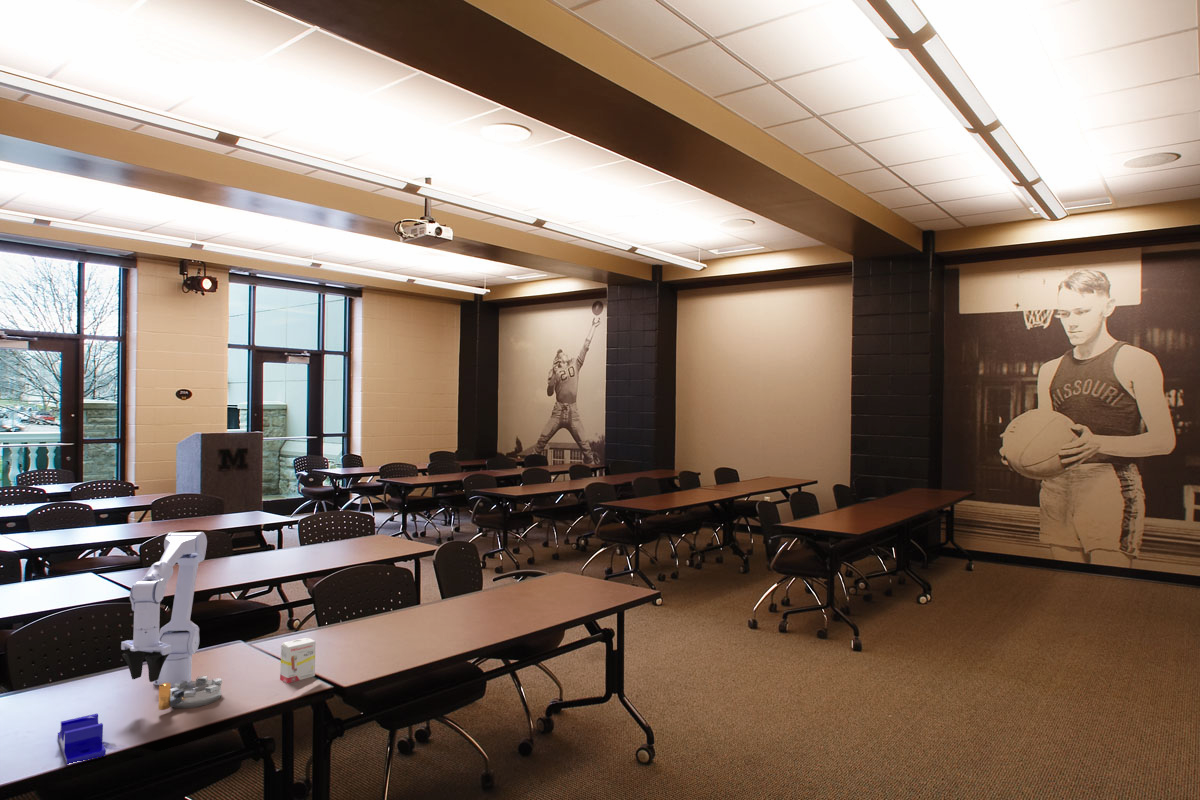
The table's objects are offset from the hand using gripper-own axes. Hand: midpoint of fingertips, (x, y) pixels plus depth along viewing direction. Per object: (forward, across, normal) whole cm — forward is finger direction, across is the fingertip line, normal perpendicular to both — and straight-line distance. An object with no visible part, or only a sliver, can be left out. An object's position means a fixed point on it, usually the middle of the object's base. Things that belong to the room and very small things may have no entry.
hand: (145, 679), depth 187 cm
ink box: (+10, +22, +32) cm, 40 cm away
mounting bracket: (+10, +1, -18) cm, 21 cm away
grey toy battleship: (+8, +7, +7) cm, 13 cm away
